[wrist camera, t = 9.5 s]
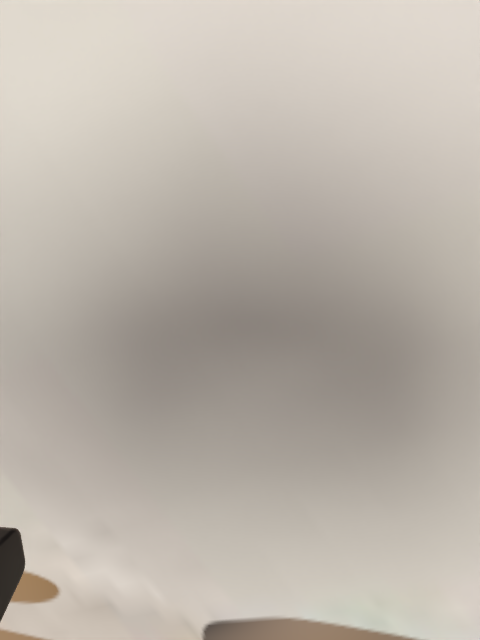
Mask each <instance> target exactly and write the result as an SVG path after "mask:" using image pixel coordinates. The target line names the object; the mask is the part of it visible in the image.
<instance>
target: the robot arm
mask: <svg viewBox="0 0 480 640" xmlns="http://www.w3.org/2000/svg"><path fill="white" fill-rule="evenodd" d="M24 568H25V557H24V551H23V545H22V540H21V534H20V532H19V530H18V529H16V528H6V527H0V621H1V619H2V617H3V615H4V613H5V611H6V609H7V607H8V604H9V602H10V600H11V598H12V596H13V593H14V592H15V589H16V587H17V585H18V583H19V581H20V579H21V576H22V574H23V571H24Z"/></svg>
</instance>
